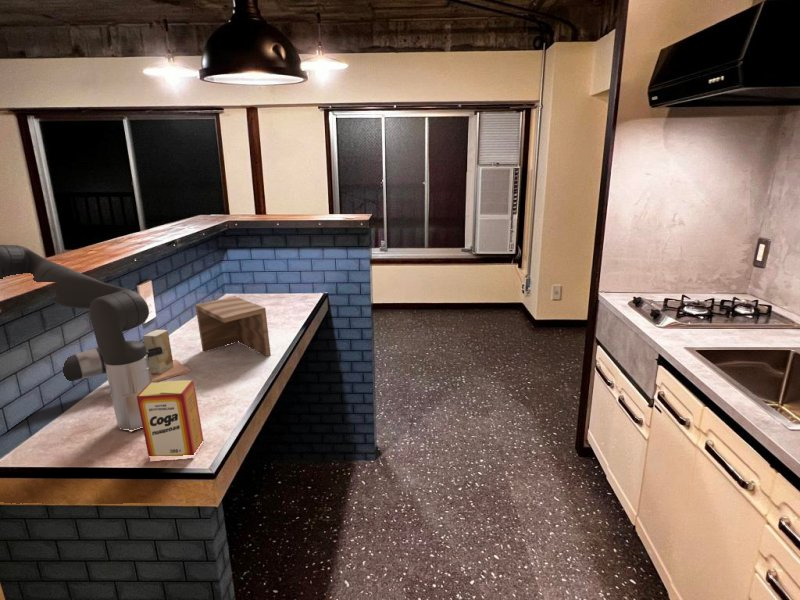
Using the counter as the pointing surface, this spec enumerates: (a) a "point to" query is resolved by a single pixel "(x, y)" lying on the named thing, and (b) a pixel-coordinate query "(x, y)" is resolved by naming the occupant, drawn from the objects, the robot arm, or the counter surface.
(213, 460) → the counter surface
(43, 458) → the counter surface
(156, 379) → the terracotta tile
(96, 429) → the counter surface
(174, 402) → the baking soda box
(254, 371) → the counter surface
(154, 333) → the skincare box
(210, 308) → the walnut shelf
